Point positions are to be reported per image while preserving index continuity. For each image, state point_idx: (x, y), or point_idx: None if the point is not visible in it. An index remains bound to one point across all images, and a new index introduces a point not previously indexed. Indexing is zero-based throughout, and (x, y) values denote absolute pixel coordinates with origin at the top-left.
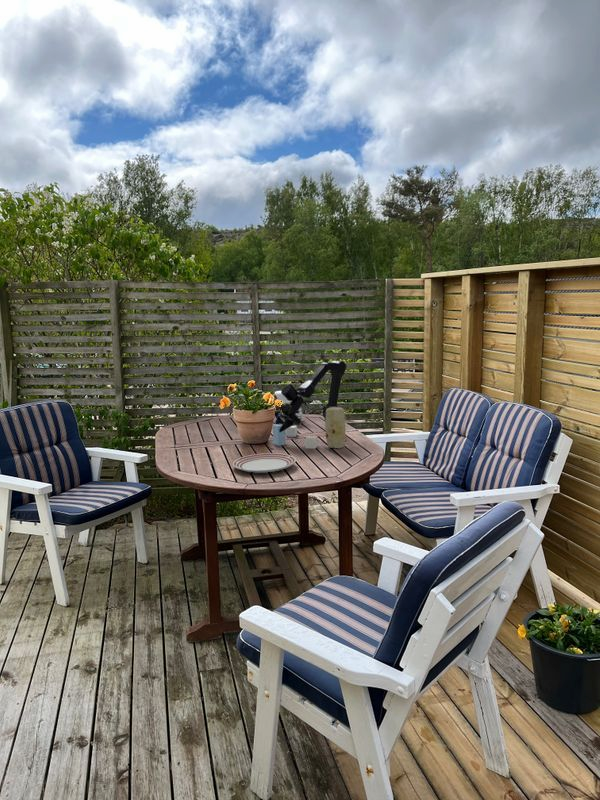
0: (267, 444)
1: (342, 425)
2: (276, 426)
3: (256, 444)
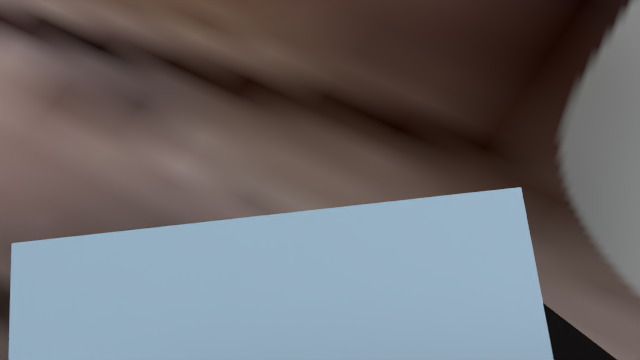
0: (460, 176)
1: None
2: (168, 236)
3: (571, 11)
